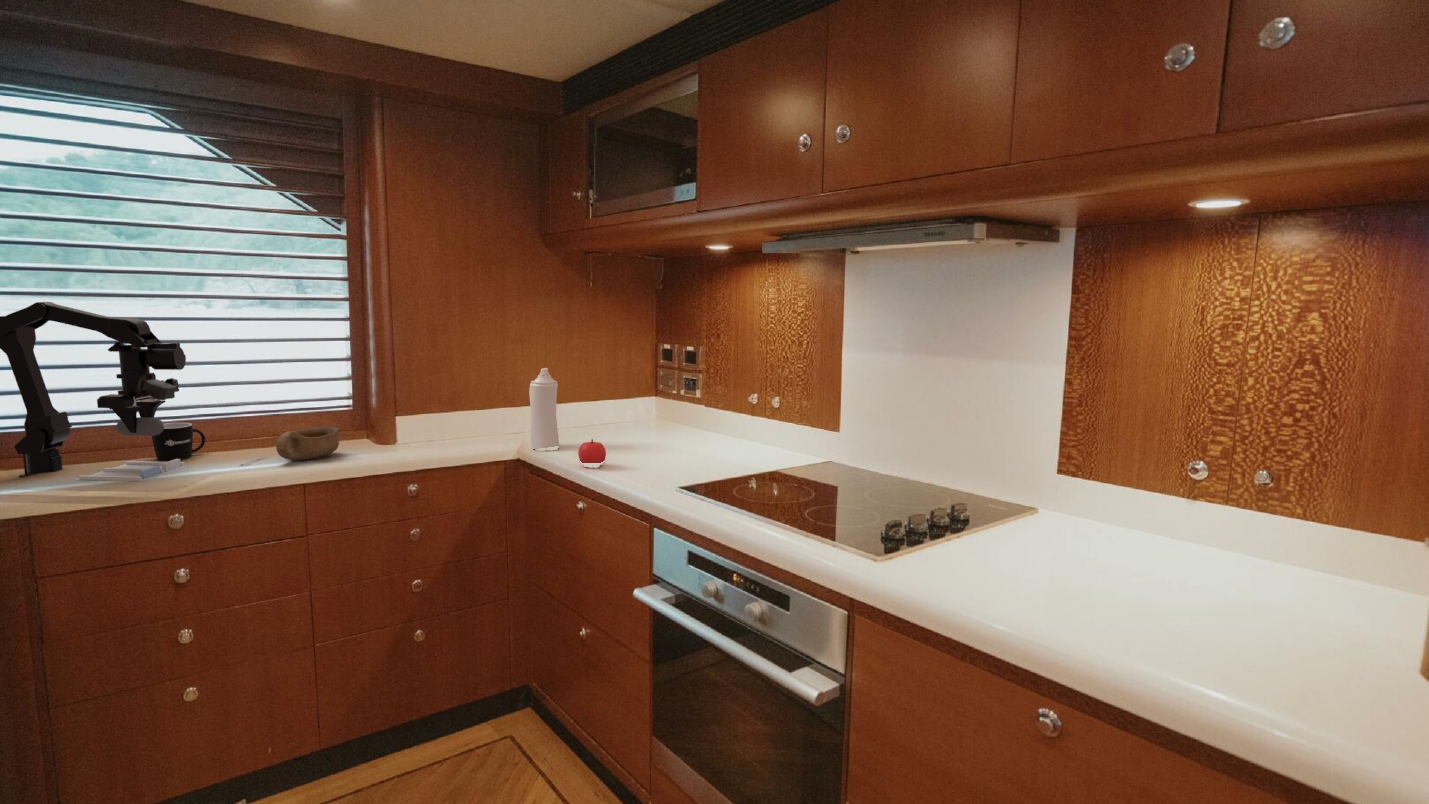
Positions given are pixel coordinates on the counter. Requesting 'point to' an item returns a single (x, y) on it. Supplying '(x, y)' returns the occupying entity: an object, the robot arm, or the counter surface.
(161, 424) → the grey capsule
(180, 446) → the mug
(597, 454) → the apple
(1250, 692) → the counter surface
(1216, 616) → the counter surface
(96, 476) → the board
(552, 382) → the spray can
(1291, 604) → the counter surface
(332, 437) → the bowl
